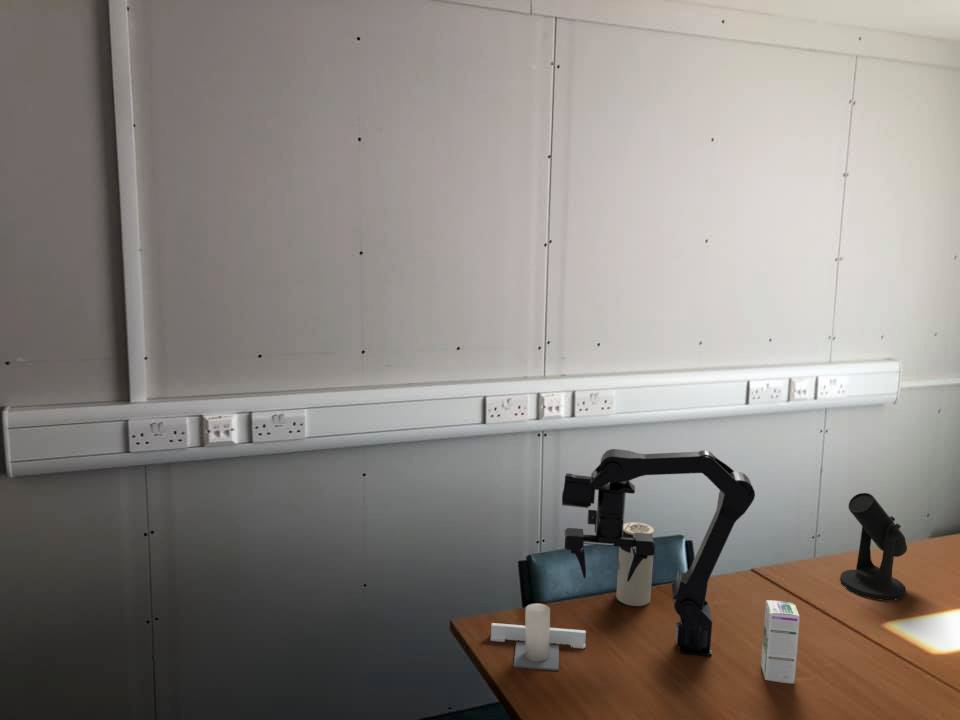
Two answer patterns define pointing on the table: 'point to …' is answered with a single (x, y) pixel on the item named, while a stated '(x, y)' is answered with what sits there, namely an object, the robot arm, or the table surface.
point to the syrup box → (780, 641)
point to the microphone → (885, 536)
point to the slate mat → (547, 664)
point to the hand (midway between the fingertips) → (606, 579)
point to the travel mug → (640, 581)
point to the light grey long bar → (556, 634)
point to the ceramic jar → (537, 632)
